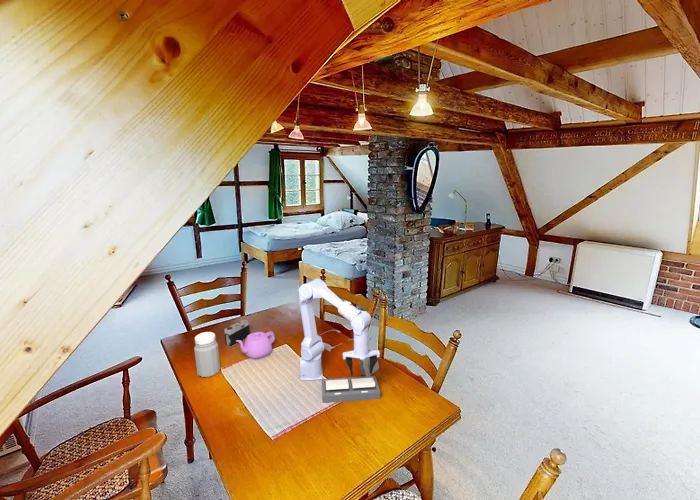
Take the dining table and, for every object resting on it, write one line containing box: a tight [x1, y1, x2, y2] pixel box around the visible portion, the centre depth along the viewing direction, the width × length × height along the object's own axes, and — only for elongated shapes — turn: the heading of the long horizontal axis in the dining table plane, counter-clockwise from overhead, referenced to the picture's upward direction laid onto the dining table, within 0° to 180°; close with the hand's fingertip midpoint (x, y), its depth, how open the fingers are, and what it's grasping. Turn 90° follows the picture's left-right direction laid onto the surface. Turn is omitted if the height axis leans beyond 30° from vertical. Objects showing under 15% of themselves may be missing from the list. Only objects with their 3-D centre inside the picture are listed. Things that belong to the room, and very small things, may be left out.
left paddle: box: [326, 379, 349, 390], centre depth 138 cm, size 9×6×2 cm, turn 96°
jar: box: [193, 331, 221, 378], centre depth 150 cm, size 10×10×18 cm
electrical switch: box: [357, 357, 380, 377], centre depth 152 cm, size 9×5×9 cm, turn 141°
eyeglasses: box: [319, 329, 354, 352], centre depth 179 cm, size 15×18×4 cm
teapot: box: [236, 330, 276, 360], centre depth 167 cm, size 13×20×11 cm, turn 132°
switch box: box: [321, 375, 381, 404], centre depth 139 cm, size 23×11×3 cm, turn 96°
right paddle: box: [351, 378, 375, 388], centre depth 139 cm, size 9×6×2 cm, turn 96°
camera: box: [224, 319, 251, 347], centre depth 180 cm, size 14×9×10 cm, turn 144°
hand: (361, 373), depth 135 cm, fingers open, 7 cm apart
